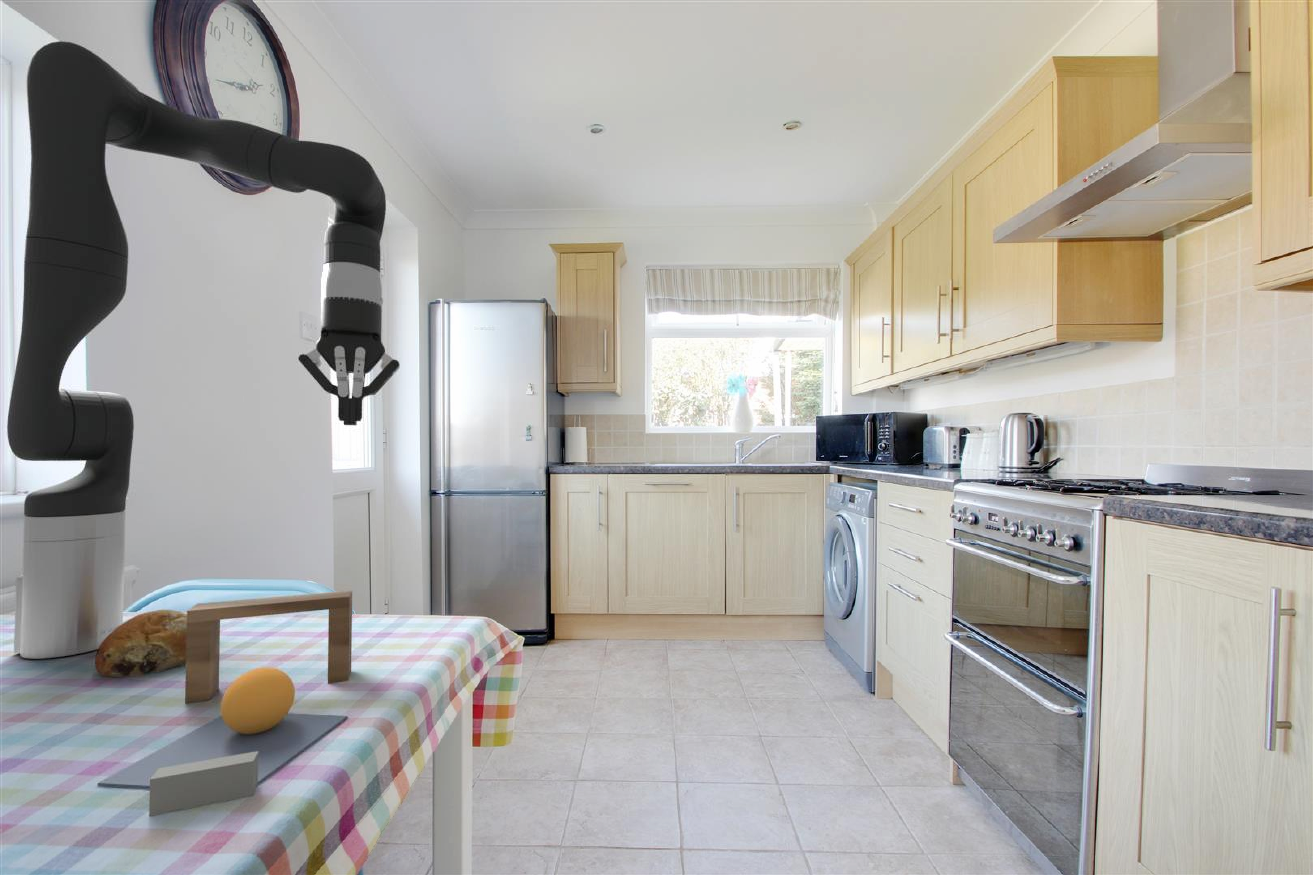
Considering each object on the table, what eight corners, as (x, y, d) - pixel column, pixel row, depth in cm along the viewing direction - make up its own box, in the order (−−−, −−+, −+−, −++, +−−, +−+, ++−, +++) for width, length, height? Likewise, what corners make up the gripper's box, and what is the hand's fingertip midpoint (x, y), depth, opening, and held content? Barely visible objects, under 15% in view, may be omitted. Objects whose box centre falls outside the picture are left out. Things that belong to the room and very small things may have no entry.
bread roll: (213, 684, 71) (237, 618, 74) (140, 678, 62) (171, 603, 65) (141, 681, 72) (168, 615, 75) (58, 674, 63) (94, 600, 66)
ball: (209, 674, 51) (211, 737, 51) (235, 685, 48) (237, 752, 48) (277, 655, 55) (279, 712, 55) (305, 663, 52) (307, 724, 52)
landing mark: (97, 785, 43) (97, 782, 43) (229, 712, 55) (229, 710, 55) (245, 793, 42) (245, 790, 42) (347, 717, 54) (347, 715, 54)
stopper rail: (158, 803, 41) (158, 768, 41) (257, 784, 43) (258, 750, 43) (149, 815, 39) (150, 779, 39) (252, 795, 42) (253, 760, 42)
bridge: (195, 691, 60) (197, 603, 60) (351, 670, 66) (352, 590, 66) (185, 703, 57) (186, 610, 57) (348, 680, 63) (349, 596, 63)
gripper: (291, 289, 74) (289, 422, 73) (403, 300, 79) (401, 424, 79) (302, 303, 81) (300, 425, 80) (404, 312, 86) (402, 427, 85)
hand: (350, 424), depth 79 cm, fingers closed
